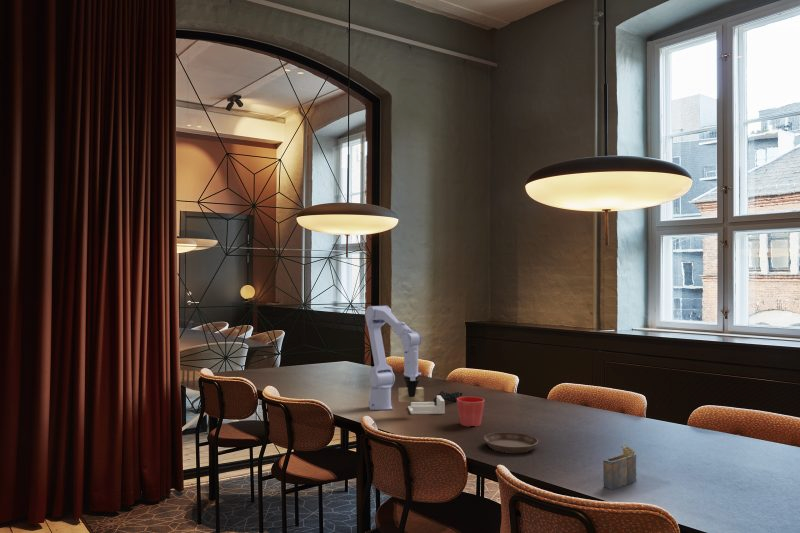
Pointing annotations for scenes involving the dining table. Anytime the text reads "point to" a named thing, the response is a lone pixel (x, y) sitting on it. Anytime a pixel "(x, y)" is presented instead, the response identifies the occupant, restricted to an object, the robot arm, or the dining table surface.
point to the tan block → (404, 395)
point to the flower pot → (470, 410)
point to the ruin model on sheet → (620, 469)
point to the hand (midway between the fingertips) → (411, 395)
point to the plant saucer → (510, 442)
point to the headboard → (428, 407)
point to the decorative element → (448, 396)
